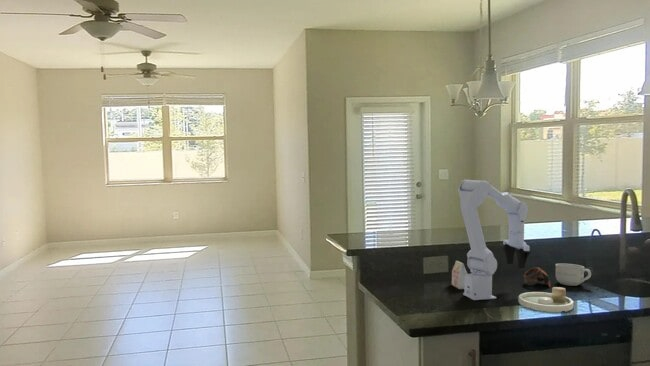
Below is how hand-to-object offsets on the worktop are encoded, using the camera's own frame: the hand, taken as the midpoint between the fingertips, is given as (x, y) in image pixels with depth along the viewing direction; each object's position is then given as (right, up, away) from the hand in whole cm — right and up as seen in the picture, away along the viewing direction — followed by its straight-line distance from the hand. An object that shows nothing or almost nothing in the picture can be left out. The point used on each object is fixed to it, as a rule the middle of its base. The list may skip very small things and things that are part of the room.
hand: (515, 266), depth 204 cm
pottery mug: (+12, -9, +8) cm, 17 cm away
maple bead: (+9, -10, -18) cm, 22 cm away
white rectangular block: (-21, -9, +5) cm, 23 cm away
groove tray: (+4, -11, -19) cm, 22 cm away
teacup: (+26, -9, +8) cm, 29 cm away
